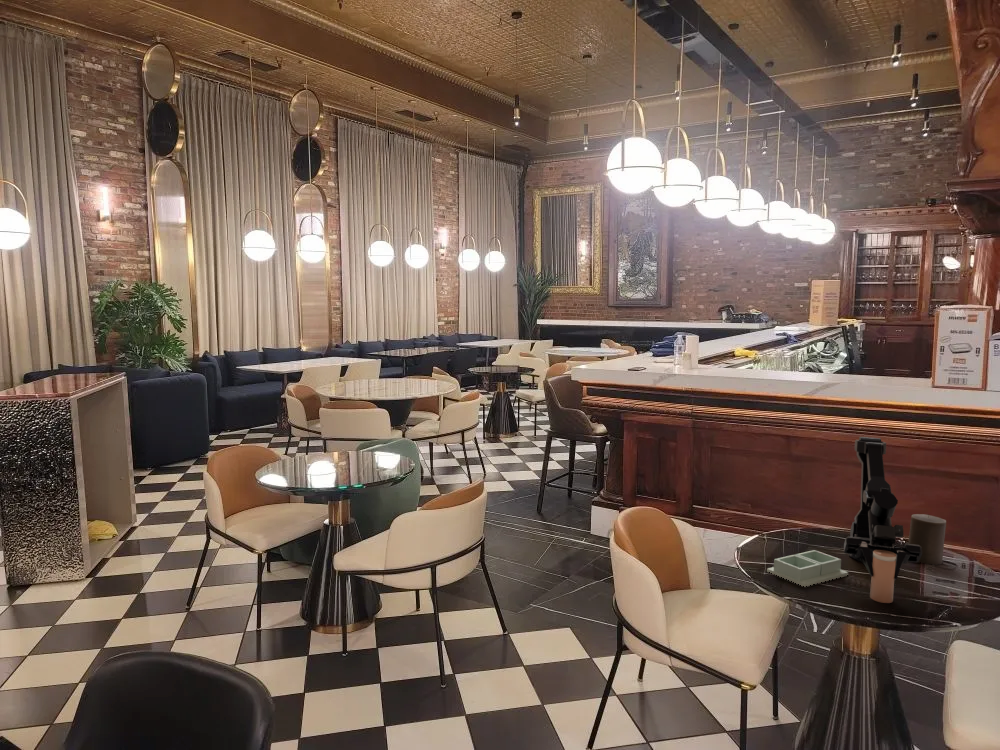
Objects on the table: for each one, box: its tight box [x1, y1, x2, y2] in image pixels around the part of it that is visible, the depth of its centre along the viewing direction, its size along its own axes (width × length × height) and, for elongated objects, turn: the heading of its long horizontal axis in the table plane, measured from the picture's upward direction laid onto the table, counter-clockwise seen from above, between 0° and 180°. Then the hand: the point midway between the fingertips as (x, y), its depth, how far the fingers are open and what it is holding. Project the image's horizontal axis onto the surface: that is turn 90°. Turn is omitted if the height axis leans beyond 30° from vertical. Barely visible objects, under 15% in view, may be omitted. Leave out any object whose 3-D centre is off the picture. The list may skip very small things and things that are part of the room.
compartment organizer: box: [766, 549, 849, 588], centre depth 208 cm, size 20×13×4 cm, turn 120°
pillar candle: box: [908, 513, 947, 566], centre depth 222 cm, size 10×10×15 cm
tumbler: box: [869, 550, 897, 604], centre depth 190 cm, size 6×6×13 cm
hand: (883, 577), depth 188 cm, fingers closed on tumbler, 5 cm apart
